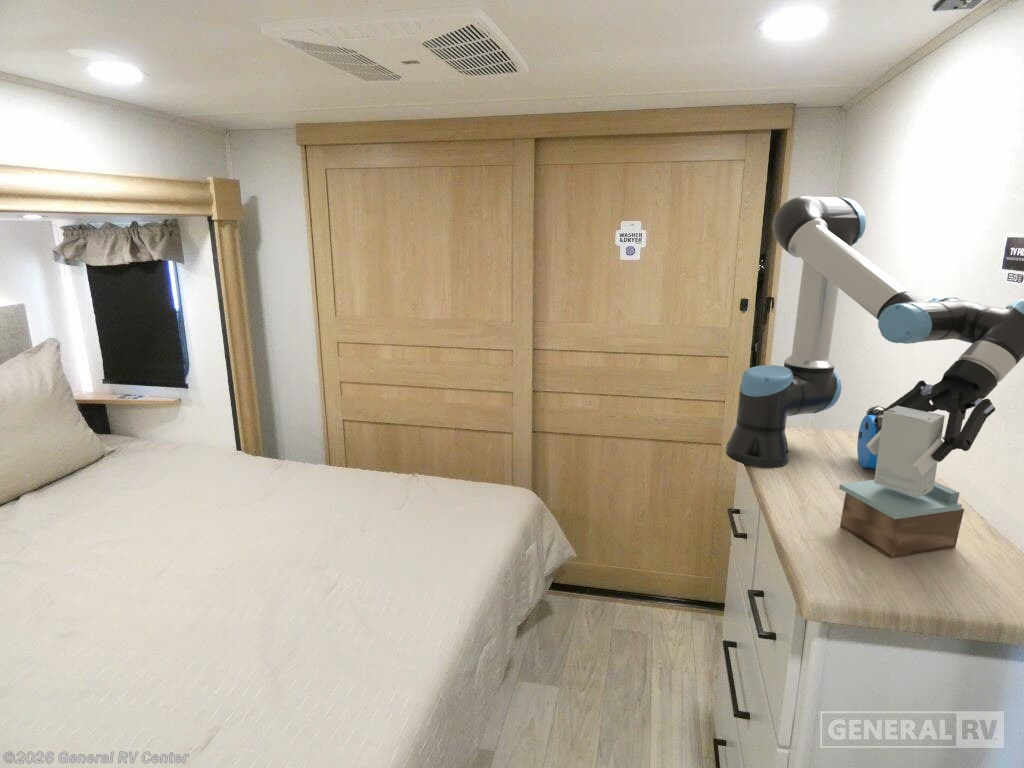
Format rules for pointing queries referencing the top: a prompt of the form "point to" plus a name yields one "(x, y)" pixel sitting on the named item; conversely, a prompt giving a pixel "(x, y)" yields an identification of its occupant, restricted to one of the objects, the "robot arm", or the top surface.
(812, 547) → the top surface
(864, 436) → the alarm clock
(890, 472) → the skincare box
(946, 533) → the box
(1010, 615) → the top surface
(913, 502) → the lid
